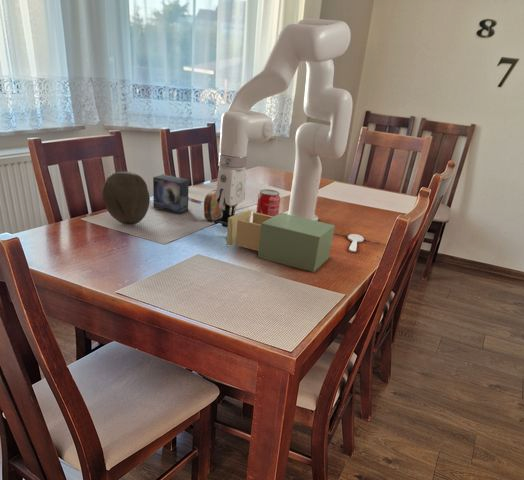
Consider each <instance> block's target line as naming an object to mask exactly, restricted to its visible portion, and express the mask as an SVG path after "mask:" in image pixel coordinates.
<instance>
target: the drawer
mask: <svg viewBox="0 0 524 480" xmlns="http://www.w3.org/2000/svg"><path fill="white" fill-rule="evenodd" d="M251 217H252V222H251ZM272 217H273V216H269V215H264V214H260V213H256V211H254V212H253V213H252V209H250V208H247V209H245V210H242V211H240V212H237V213H235V215H233V216H231V217H229V218H228V223H226V222H222V215H221V216H218V217H217V218H216V219H214V221H213V225H218V224H220V225H222V224H223V225H227V226H228V228H227V227H226V228H227V230H226V243H225V245H226V246H232V245H235V246H238V247H242V248H245V249H249V250H253V251H257V252H258V250H259V241H260V232H261V223H263V222H265V221H266V220H268V219H270V218H272Z"/></svg>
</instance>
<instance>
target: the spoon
mask: <svg viewBox="0 0 524 480" xmlns="http://www.w3.org/2000/svg"><path fill="white" fill-rule="evenodd" d="M347 240H349V241H351V244H349V245H350V246H349V248H348V251H349V252H351V253H352V252H353V253H355V252H356V253H357V248H358V247H357V246H358V243H363V242H364V240H365V238H364V237H363V236H362V235H361V234H357V233H351V234H349V235H347Z"/></svg>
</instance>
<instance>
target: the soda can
mask: <svg viewBox="0 0 524 480" xmlns="http://www.w3.org/2000/svg"><path fill="white" fill-rule="evenodd" d="M280 205H281V196H280V191H277V190H274V189H266V188H263V189H259V193H258V195H257V199H256V208H255V209H256V210H255V212H256V213H260V214H264V215H269V216H273V217H274V216H276V215H278V214H280V213H279V212H280Z"/></svg>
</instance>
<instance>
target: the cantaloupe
mask: <svg viewBox="0 0 524 480" xmlns="http://www.w3.org/2000/svg"><path fill="white" fill-rule="evenodd" d="M150 196H151V195H150V192H149V190H148V185H147V183H146V181H145V179H144V178H143V177H142V176H141V175H139V174H138V173H134V172H131V171H115V172H112V173H111V174H110V175H109V176H108V177H106V179H105V181H104V183H103V188H102V201H103V203H104V206H105V208H106V211H107V212H108V214H109V215H110V216H111V217H112V218H113V219H114V220H116V221H117V222H119V223H120V224H124V225H129V226H130V225H136V224H138V223H140V222H141V221H142V220H144V218H145V217H146V215H147V213H148V211H149V208H150V203H151V198H150Z"/></svg>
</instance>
